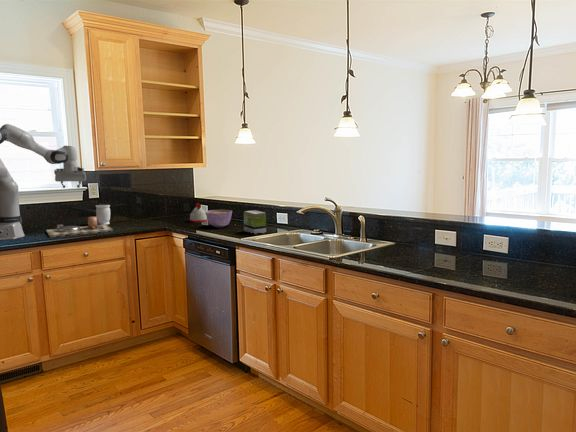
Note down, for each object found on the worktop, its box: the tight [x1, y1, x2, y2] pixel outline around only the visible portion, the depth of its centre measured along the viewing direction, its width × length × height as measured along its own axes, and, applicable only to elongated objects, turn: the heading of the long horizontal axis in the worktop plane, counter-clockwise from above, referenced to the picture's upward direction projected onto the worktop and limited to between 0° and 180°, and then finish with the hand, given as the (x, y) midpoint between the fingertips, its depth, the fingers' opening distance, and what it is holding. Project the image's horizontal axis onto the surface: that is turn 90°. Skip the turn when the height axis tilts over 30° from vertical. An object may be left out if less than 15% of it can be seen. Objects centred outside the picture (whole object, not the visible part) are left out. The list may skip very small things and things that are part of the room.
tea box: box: [243, 209, 267, 235], centre depth 309 cm, size 15×10×15 cm
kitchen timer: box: [189, 202, 208, 223], centre depth 359 cm, size 14×14×15 cm
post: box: [56, 223, 81, 232], centre depth 310 cm, size 15×15×4 cm
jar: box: [95, 204, 111, 226], centre depth 344 cm, size 11×10×15 cm
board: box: [46, 224, 114, 238], centre depth 313 cm, size 40×24×2 cm, turn 123°
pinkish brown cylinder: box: [87, 216, 98, 229], centre depth 316 cm, size 8×6×8 cm
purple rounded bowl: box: [205, 209, 233, 228], centre depth 333 cm, size 20×20×12 cm
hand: (71, 187), depth 317 cm, fingers open, 8 cm apart
